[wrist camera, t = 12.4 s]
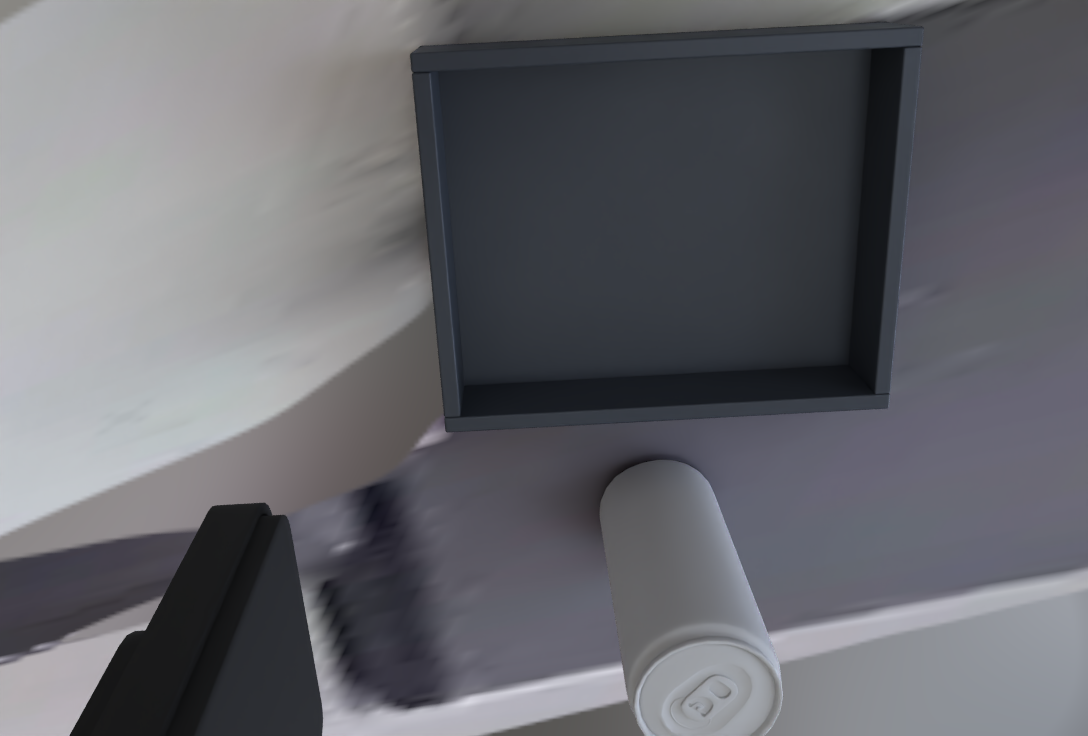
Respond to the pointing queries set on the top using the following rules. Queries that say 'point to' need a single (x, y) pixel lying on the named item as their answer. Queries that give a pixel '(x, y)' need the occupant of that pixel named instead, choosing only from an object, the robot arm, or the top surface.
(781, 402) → the desk tray
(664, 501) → the beverage can
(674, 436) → the top surface
